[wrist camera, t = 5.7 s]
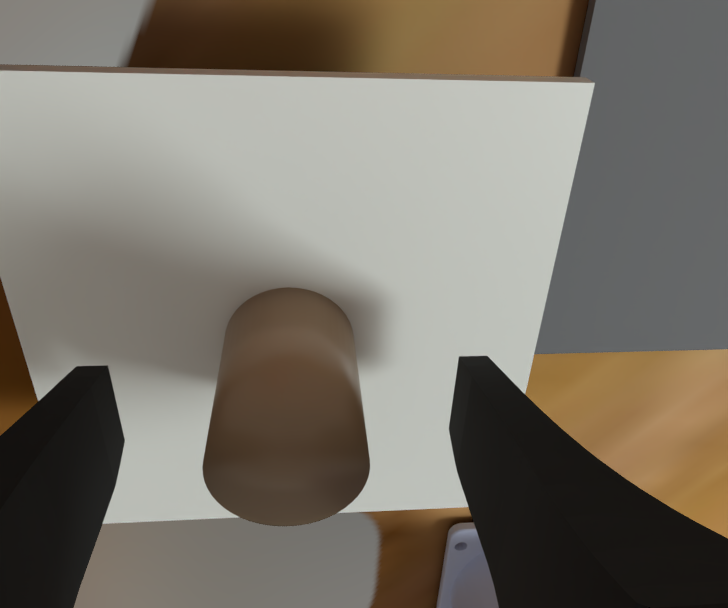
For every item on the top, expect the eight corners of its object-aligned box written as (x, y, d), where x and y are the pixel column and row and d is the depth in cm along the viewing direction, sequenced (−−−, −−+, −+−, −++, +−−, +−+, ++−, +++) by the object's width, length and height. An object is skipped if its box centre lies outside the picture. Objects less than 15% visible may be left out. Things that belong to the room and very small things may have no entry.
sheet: (495, 492, 19) (545, 638, 15) (81, 510, 18) (21, 673, 14) (585, 77, 13) (710, 148, 9) (-50, 63, 11) (-225, 137, 8)
